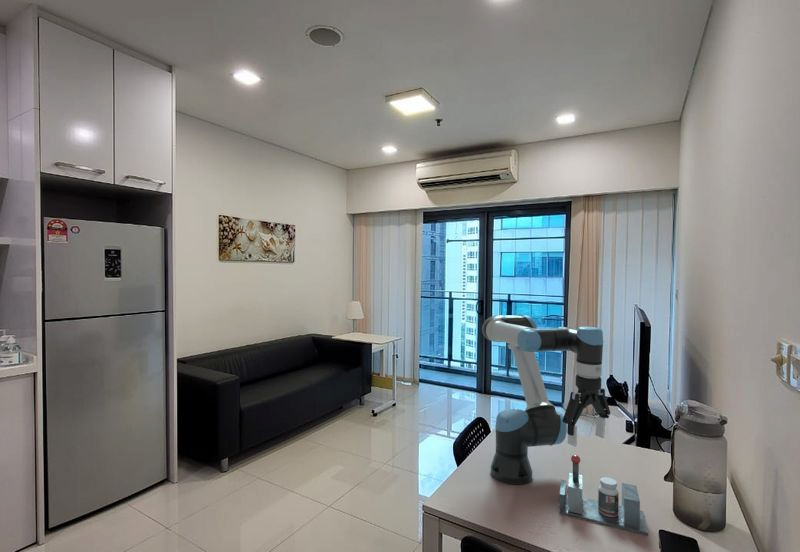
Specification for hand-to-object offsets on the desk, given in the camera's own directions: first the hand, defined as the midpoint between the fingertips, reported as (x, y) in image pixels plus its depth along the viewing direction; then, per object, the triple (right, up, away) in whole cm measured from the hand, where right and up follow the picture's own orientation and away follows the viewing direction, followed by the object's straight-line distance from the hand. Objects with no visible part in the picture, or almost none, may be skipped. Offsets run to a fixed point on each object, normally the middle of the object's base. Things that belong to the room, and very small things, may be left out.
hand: (586, 440), depth 130 cm
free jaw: (-3, -21, +1) cm, 21 cm away
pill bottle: (+5, -21, -3) cm, 22 cm away
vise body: (+3, -22, -3) cm, 22 cm away
